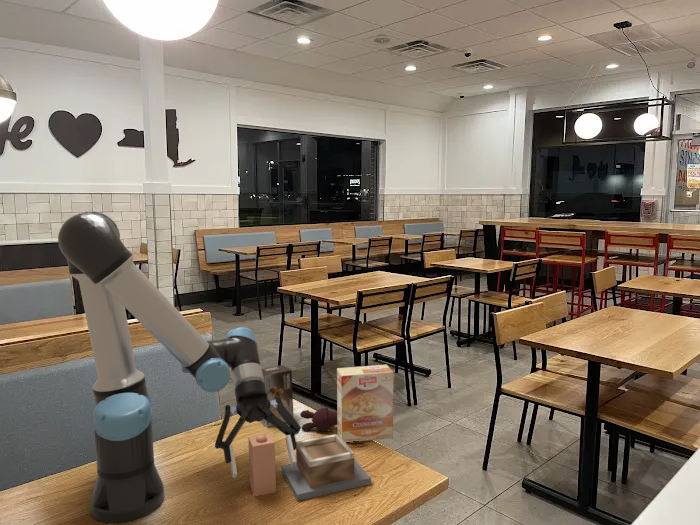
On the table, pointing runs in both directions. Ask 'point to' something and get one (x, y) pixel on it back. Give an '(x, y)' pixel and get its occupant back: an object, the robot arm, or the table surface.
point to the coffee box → (278, 389)
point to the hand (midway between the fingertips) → (264, 470)
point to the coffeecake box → (365, 403)
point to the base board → (305, 492)
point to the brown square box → (325, 460)
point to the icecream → (320, 419)
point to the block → (262, 464)
